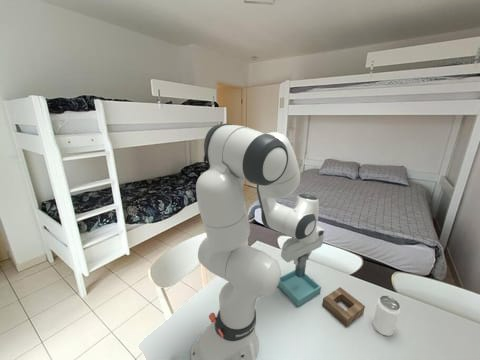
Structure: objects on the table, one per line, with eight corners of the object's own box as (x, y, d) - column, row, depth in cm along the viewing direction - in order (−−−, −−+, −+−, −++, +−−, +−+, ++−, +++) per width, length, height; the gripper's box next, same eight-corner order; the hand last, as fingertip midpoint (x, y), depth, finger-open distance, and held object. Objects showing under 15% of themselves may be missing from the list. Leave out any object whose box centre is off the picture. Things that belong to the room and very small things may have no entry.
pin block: (346, 327, 77) (347, 319, 76) (322, 305, 86) (323, 297, 85) (363, 313, 83) (365, 306, 81) (338, 294, 91) (340, 287, 90)
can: (388, 340, 73) (396, 314, 69) (368, 325, 78) (375, 300, 74) (396, 329, 77) (404, 304, 73) (376, 316, 82) (383, 291, 78)
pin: (299, 279, 88) (301, 259, 85) (292, 272, 92) (294, 253, 88) (306, 275, 90) (309, 255, 87) (299, 269, 94) (301, 250, 90)
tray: (297, 307, 85) (298, 300, 84) (276, 285, 96) (277, 278, 94) (320, 294, 91) (321, 286, 90) (297, 274, 102) (298, 267, 101)
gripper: (290, 245, 77) (287, 276, 81) (327, 229, 86) (323, 257, 91) (278, 236, 82) (276, 266, 86) (315, 222, 92) (312, 249, 96)
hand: (301, 261), depth 89 cm, fingers closed on pin, 4 cm apart
